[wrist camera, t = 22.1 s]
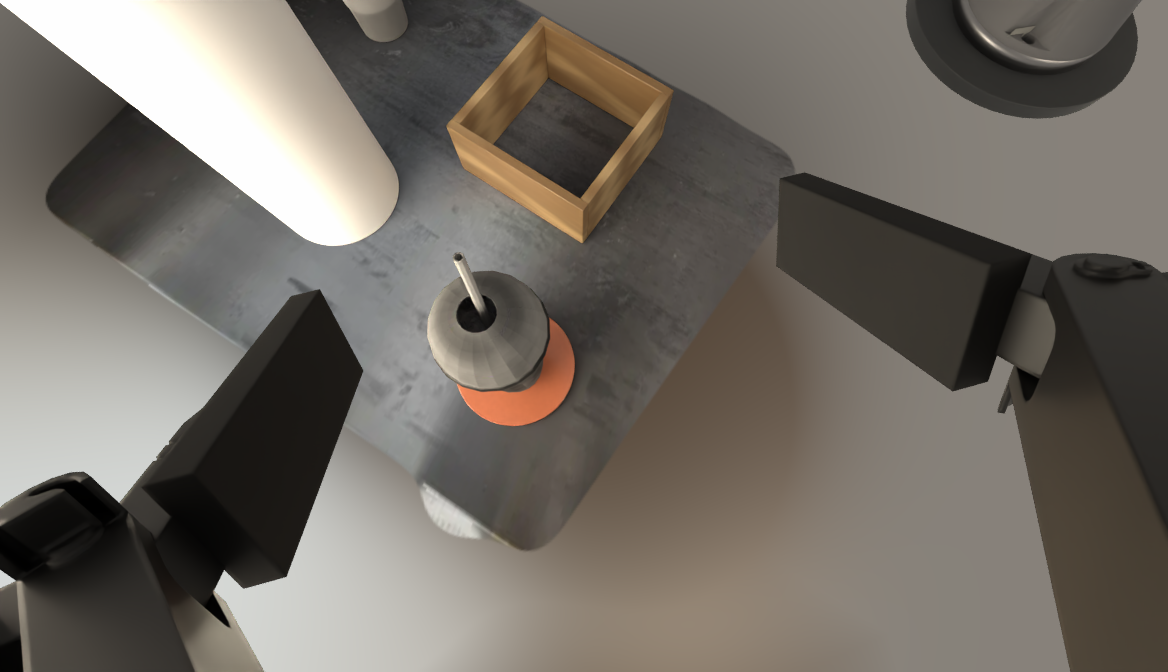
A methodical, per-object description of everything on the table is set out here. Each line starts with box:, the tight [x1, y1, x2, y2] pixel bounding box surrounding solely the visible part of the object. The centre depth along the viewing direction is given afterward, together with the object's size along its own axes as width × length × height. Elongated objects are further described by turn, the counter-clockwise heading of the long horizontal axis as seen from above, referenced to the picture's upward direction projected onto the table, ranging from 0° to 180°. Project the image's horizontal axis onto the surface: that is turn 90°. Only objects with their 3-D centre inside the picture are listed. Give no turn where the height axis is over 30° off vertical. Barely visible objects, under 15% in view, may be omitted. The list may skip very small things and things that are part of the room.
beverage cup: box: [428, 252, 550, 393], centre depth 30 cm, size 7×7×20 cm
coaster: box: [458, 318, 575, 426], centre depth 40 cm, size 10×10×1 cm
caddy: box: [446, 16, 673, 243], centre depth 42 cm, size 14×14×6 cm
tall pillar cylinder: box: [0, 0, 399, 246], centre depth 32 cm, size 11×11×25 cm
